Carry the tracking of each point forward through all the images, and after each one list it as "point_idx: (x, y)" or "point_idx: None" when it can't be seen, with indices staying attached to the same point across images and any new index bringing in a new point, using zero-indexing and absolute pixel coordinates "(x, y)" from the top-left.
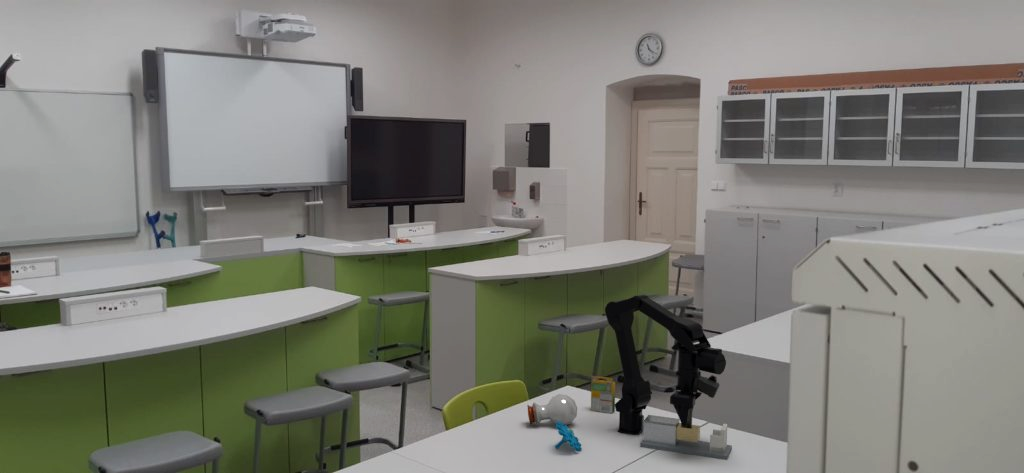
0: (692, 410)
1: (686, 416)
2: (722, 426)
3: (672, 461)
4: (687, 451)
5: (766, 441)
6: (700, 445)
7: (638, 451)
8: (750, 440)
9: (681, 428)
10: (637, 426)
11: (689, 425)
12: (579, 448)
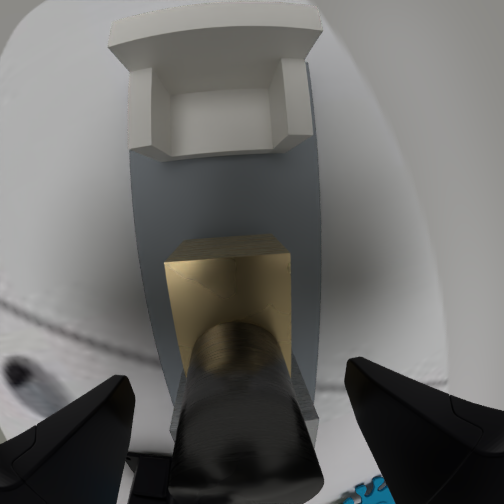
0: (89, 415)
1: (438, 399)
2: (206, 27)
3: (415, 291)
4: (319, 266)
5: (25, 33)
6: (210, 223)
7: (351, 414)
8: (22, 72)
9: (289, 374)
10: None
11: (271, 342)
12: (383, 479)
